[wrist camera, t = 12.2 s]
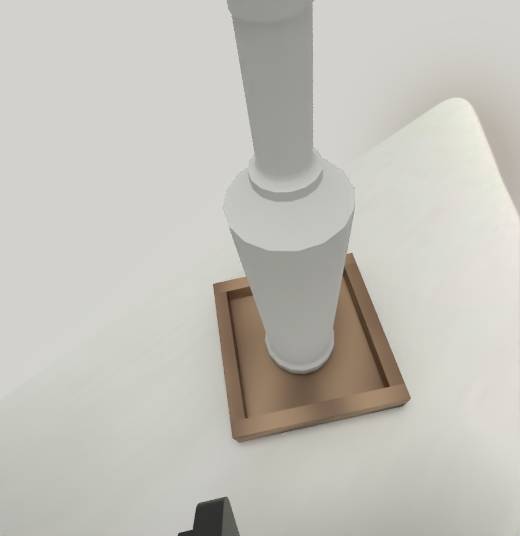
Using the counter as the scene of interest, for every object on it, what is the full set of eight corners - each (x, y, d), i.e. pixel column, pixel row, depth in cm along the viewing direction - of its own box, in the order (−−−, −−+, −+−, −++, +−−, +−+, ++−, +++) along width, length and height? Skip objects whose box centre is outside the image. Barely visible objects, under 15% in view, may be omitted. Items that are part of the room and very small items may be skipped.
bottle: (277, 307, 30) (192, -138, 9) (339, 322, 28) (418, -166, 7) (258, 367, 27) (76, -55, 6) (325, 385, 26) (386, -73, 5)
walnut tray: (239, 442, 25) (232, 437, 23) (219, 297, 32) (213, 283, 30) (402, 405, 25) (410, 398, 23) (349, 268, 32) (352, 252, 30)
